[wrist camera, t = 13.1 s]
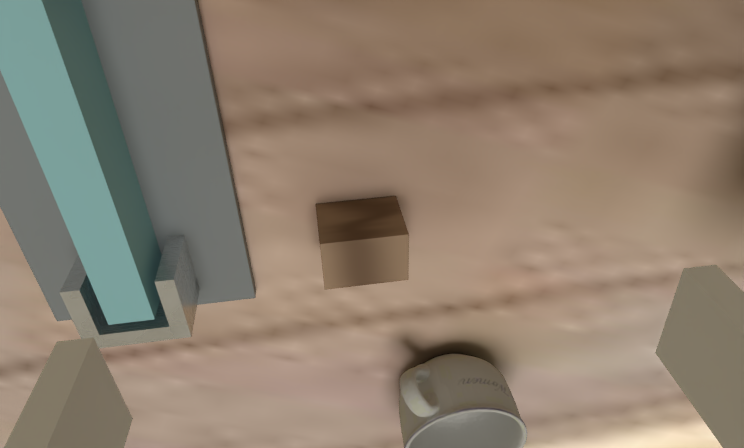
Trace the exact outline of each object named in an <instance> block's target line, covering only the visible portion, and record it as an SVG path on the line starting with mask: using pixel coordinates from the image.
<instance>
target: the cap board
mask: <svg viewBox="0 0 744 448" xmlns="http://www.w3.org/2000/svg"><path fill="white" fill-rule="evenodd" d="M81 1H82V4H83V8H84V11H85V14H86V17H87V20H88V23H89V27H90V30H91V33H92V36H93V39H94V42H95V46H96V49H97V52H98V55H99V58H100V61H101V65H102V68H103V71H104V74H105V77H106V80H107V84H108V87H109V90H110V93H111V96H112V99H113V103H114V106H115V109H116V112H117V115H118V118H119V122H120V125H121V128H122V131H123V134H124V137H125V141H126V144H127V147H128V150H129V153H130V156H131V160H132V163H133V166H134V169H135V172H136V175H137V179H138V182H139V185H140V188H141V191H142V194H143V198H144V201H145V204H146V207H147V210H148V213H149V217H150V220H151V223H152V226H153V229H154V232H155V236H156V239H157V242H158V245H159V248H160V251H161V255H162V253H163V250H164V246H165V243H166V239H167V236H176V235H185V238H186V242H187V245H188V249H189V253H190V256H191V260H192V263H193V267H194V271H195V274H196V278H197V281H198V285H199V289H200V291H199V297H198V302H197V305H199V304H207V303H216V302H224V301H233V300H241V299H250V298H255V295H256V288H255V283H254V278H253V273H252V268H251V263H250V259H249V254H248V249H247V244H246V239H245V234H244V229H243V224H242V219H241V214H240V209H239V204H238V199H237V194H236V189H235V184H234V179H233V174H232V169H231V164H230V159H229V155H228V150H227V145H226V140H225V135H224V130H223V125H222V120H221V115H220V110H219V105H218V100H217V95H216V90H215V85H214V80H213V75H212V70H211V65H210V60H209V56H208V51H207V46H206V41H205V36H204V31H203V26H202V21H201V16H200V11H199V6H198V1H197V0H81ZM0 207H1V209H2V211H3V213H4V215H5V217H6V219H7V221H8V223H9V225H10V227H11V229H12V231H13V233H14V235H15V237H16V239H17V241H18V244H19V246H20V248H21V250H22V252H23V254H24V256H25V258H26V260H27V262H28V264H29V266H30V268H31V270H32V272H33V274H34V276H35V278H36V280H37V282H38V284H39V286H40V288H41V290H42V292H43V294H44V296H45V298H46V300H47V302H48V304H49V306H50V308H51V310H52V312H53V314H54V316H55V318H56V320H57V321H63V320H71V319H72V318H71V316H70V314H69V312H68V310H67V307H66V305H65V303H64V301H63V299H62V297H61V295H60V293H59V292H60V290H61V288H62V286H63V284H64V282H65V280H66V278H67V276H68V274H69V272H70V270H71V268H72V266H73V264H74V262H75V260H76V258H77V256H78V252H77V250H76V247H75V245H74V243H73V240H72V238H71V236H70V233H69V231H68V229H67V226H66V224H65V222H64V219H63V217H62V214H61V212H60V210H59V207H58V205H57V203H56V200H55V198H54V196H53V193H52V191H51V189H50V186H49V184H48V181H47V179H46V177H45V174H44V172H43V170H42V167H41V165H40V163H39V160H38V158H37V156H36V153H35V151H34V148H33V146H32V144H31V141H30V139H29V137H28V134H27V132H26V130H25V127H24V125H23V123H22V120H21V118H20V115H19V113H18V111H17V108H16V106H15V104H14V101H13V99H12V97H11V94H10V92H9V90H8V87H7V85H6V83H5V80H4V78H3V75H2V73H1V71H0Z"/></svg>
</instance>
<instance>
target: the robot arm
mask: <svg viewBox="0 0 744 448" xmlns="http://www.w3.org/2000/svg"><path fill="white" fill-rule="evenodd" d="M655 353H656V354H657V356H658V357H659V358H660V360H661V361H662V363H663V364H664V365H665V367H666V368H667V370H668V371H669V372H670V374H671V375H672V377H673V378H674V379H675V381H676V382H677V384H678V385H679V387H680V388H681V389H682V391H683V392H684V394H685V395H686V396H687V398H688V399H689V401H690V402H691V403H692V405H693V406H694V408H695V409H696V410H697V412H698V413H699V415H700V416H701V417H702V419H703V420H704V422H705V423H706V424H707V426H708V427H709V429H710V430H711V431H712V433H713V434H714V436H715V437H716V438H717V440H718V441H719V443H720V444H721V446H722V447H723V448H744V292H743V291H742V290H741V289H740V288H739V287H738V286H737V285H736V284H735V283H734V282H733V281H732V280H731V279H730V278H729V277H728V276H727V275H726V274H725V273H724V272H723V271H722V270H721V269H720V268H719V267H718V266H717V265H710V266H701V267H693V268H684V269H683V272H682V275H681V278H680V281H679V284H678V287H677V290H676V293H675V296H674V299H673V302H672V305H671V308H670V311H669V314H668V317H667V320H666V323H665V326H664V329H663V332H662V335H661V338H660V341H659V344H658V346H657V349H656V352H655ZM132 419H133V418H132V416H131V414H130V412H129V410H128V408H127V406H126V404H125V402H124V399H123V397H122V395H121V393H120V391H119V389H118V387H117V385H116V383H115V381H114V379H113V377H112V375H111V373H110V370H109V368H108V366H107V364H106V362H105V360H104V358H103V356H102V354H101V352H100V350H99V348H98V346H97V343H96V341H95V339H94V338H85V339H77V340H68V341H59V342H57V343H56V345H55V347H54V349H53V351H52V353H51V355H50V357H49V359H48V361H47V363H46V365H45V367H44V369H43V371H42V373H41V375H40V377H39V379H38V381H37V383H36V385H35V387H34V389H33V391H32V393H31V395H30V397H29V399H28V401H27V403H26V405H25V407H24V409H23V411H22V413H21V415H20V417H19V419H18V421H17V423H16V425H15V427H14V429H13V431H12V433H11V435H10V437H9V439H8V441H7V443H6V445H5V447H4V448H124V446H125V442H126V439H127V435H128V432H129V429H130V425H131V422H132Z"/></svg>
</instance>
